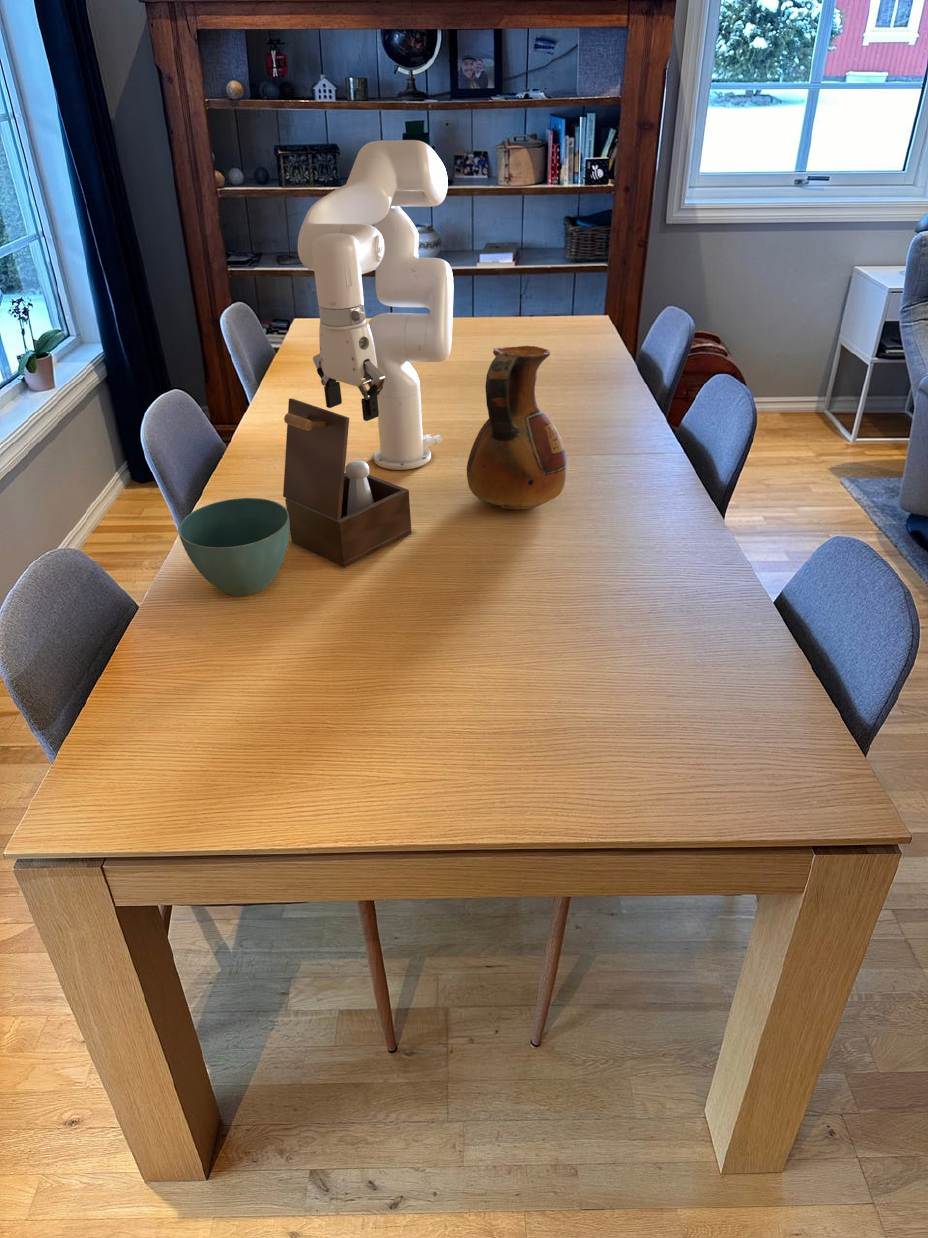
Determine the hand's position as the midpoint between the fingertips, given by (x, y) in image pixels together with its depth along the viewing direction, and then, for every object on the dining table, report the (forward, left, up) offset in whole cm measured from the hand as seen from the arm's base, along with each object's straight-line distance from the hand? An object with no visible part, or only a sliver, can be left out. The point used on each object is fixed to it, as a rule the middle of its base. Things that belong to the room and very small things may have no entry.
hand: (352, 411), depth 163 cm
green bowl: (+26, +6, -24) cm, 36 cm away
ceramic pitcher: (-32, +6, -24) cm, 40 cm away
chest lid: (+9, +3, -6) cm, 11 cm away
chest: (+3, +1, -24) cm, 24 cm away
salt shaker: (0, 0, -23) cm, 23 cm away
